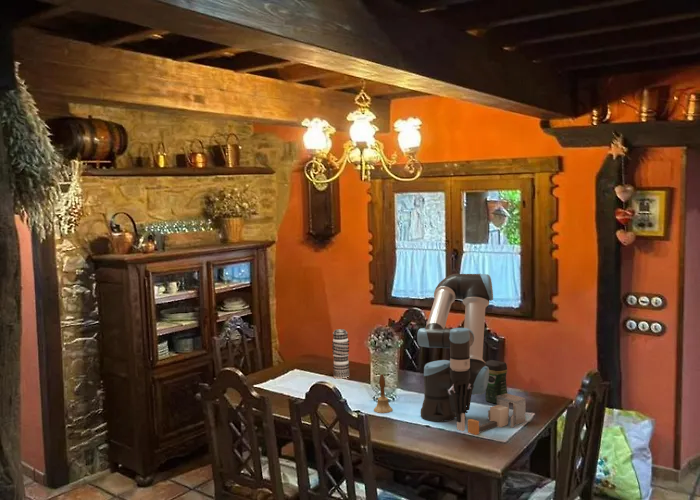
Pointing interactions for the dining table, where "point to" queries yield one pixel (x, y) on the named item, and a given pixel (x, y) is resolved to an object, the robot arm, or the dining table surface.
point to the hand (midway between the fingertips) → (460, 429)
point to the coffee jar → (496, 380)
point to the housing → (518, 407)
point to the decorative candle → (340, 354)
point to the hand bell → (382, 399)
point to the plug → (496, 419)
